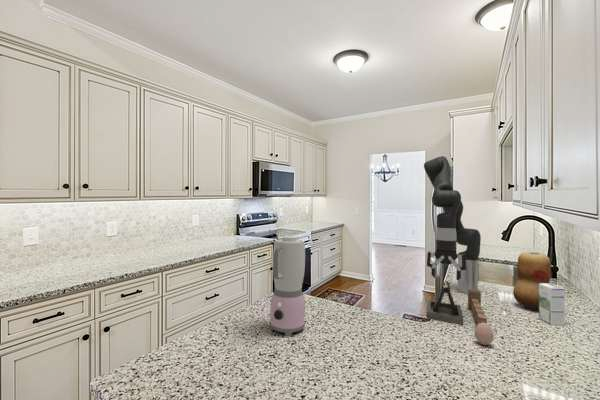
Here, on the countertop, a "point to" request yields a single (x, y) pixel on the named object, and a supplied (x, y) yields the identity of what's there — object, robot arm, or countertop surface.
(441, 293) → the phone stand
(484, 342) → the egg
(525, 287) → the butternut squash
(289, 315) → the blender
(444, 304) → the silver shallow tray
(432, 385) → the countertop surface
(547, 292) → the syrup box
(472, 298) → the door-edge rail
